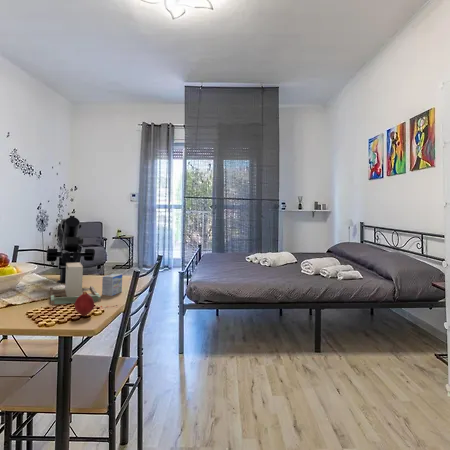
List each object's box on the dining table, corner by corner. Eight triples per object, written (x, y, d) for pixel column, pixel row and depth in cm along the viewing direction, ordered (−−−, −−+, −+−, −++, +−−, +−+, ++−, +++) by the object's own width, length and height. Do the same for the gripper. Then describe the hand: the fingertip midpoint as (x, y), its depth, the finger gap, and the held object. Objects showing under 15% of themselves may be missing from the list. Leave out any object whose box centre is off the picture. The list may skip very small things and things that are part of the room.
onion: (77, 313, 115) (78, 289, 114) (95, 313, 115) (96, 289, 115) (71, 318, 109) (72, 292, 109) (90, 318, 109) (91, 293, 109)
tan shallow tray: (49, 293, 139) (49, 285, 139) (92, 291, 146) (92, 283, 146) (50, 308, 118) (51, 298, 118) (100, 305, 126) (101, 295, 126)
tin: (64, 290, 139) (66, 262, 139) (78, 289, 142) (79, 262, 141) (66, 297, 129) (68, 267, 128) (81, 296, 131) (83, 266, 131)
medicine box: (111, 299, 135) (112, 277, 134) (101, 298, 135) (102, 276, 135) (121, 295, 142) (122, 274, 142) (111, 294, 143) (112, 273, 143)
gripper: (47, 229, 145) (47, 258, 136) (95, 230, 154) (97, 258, 145) (46, 246, 152) (46, 275, 143) (92, 246, 161) (94, 274, 152)
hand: (71, 270), depth 145 cm, fingers closed
